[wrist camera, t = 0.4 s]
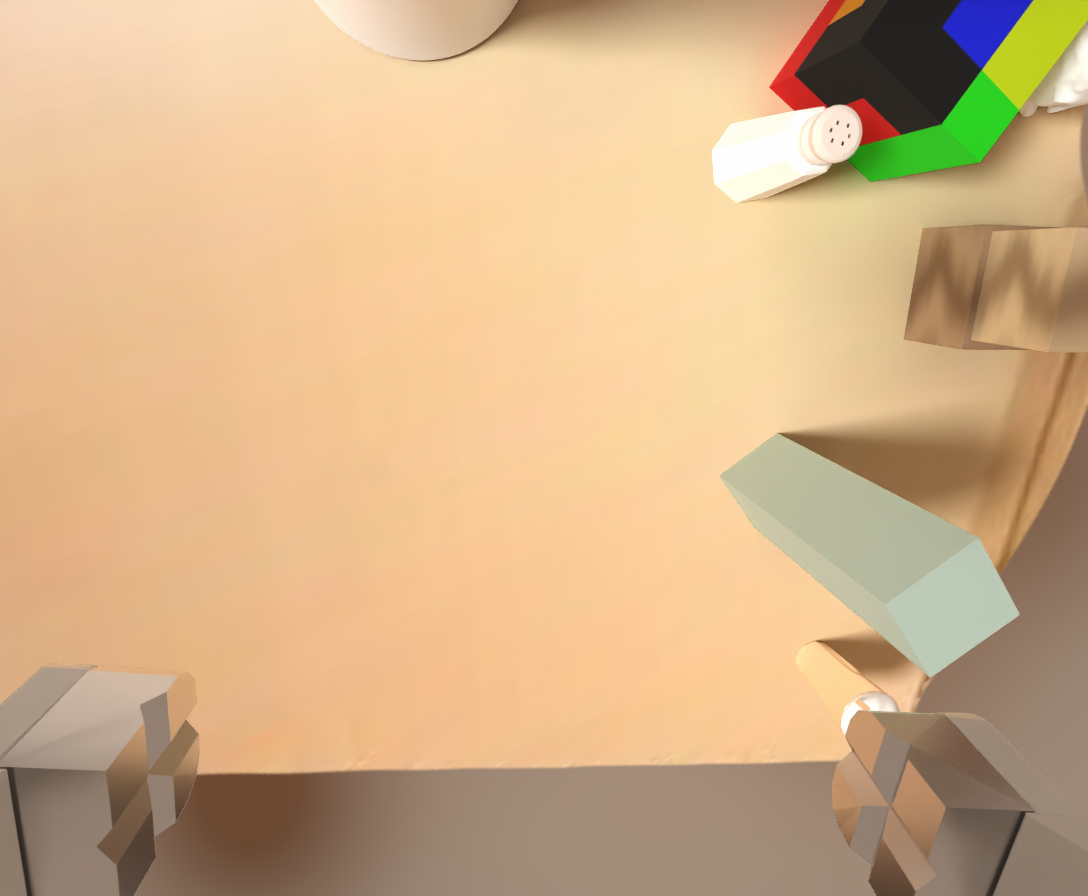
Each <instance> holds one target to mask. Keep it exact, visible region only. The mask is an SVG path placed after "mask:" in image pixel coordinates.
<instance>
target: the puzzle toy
mask: <svg viewBox="0 0 1088 896" xmlns="http://www.w3.org/2000/svg"><path fill="white" fill-rule="evenodd" d="M1087 20H1088V0H829V1H828V3H827V4H826V6H825V7H824V9H823V10H822V12H821V13H820V14H819V16H818V17H817V19H816V20H815V22H814V23H813V25H812V26H811V27H810V29H809V30H808V32H807V33H806V35H805V36H804V38H803V39H802V41H801V42H800V43H799V45H798V46H797V48H796V49H795V51H794V52H793V54H792V55H791V56H790V58H789V59H788V61H787V62H786V64H785V65H784V67H783V68H782V70H781V71H780V72H779V74H778V75H777V77H776V78H775V80H774V81H773V83H772V84H771V85H770V87H769V88H770V89H772V90H773V91H774V92H775V93H776V94H777V95H778V96H779V97H780V98H781V99H782V100H783V101H784V102H785V103H787V104H788V105H789V106H790V107H791V108H792V109H793V110H794V111H797V110H803V109H809V108H815V107H825V108H826V109H827V108H829V107H831V106H834V105H847V106H849V107H850V108H852V109H853V110H854V111H855V112H856V113H857V114H858V116H859V118H860V120H861V124H862V138H861V142H860V144H859V146H858V149H857V150H856V151H855V153H854V154H853V155H852V156H851V157H849V158H848V159H847V160H848V161H849V162H850V163H851V164H852V165H853V166H854V167H855V168H856V169H858V170H859V171H860V172H861V173H862V174H863V175H864V176H865V177H866V178H867V179H868V180H869V181H870V182H873V181H878V180H884V179H890V178H895V177H901V176H907V175H913V174H918V173H924V172H930V171H935V170H941V169H947V168H953V167H958V166H964V165H970V164H976V163H980V162H981V161H982V159H983V158H984V157H985V155H986V154H987V153H988V151H989V150H990V149H991V147H992V146H993V145H994V143H995V142H996V141H997V139H998V138H999V137H1000V135H1001V134H1002V133H1003V131H1004V130H1005V129H1006V127H1007V126H1008V125H1009V123H1010V122H1011V121H1012V120H1013V118H1014V117H1015V116H1016V114H1017V113H1018V112H1019V110H1020V109H1021V108H1022V106H1023V105H1024V104H1025V102H1026V101H1027V100H1028V98H1029V97H1030V96H1031V94H1032V93H1033V92H1034V90H1035V89H1036V88H1037V86H1038V85H1039V84H1040V82H1041V81H1042V80H1043V78H1044V77H1045V76H1046V75H1047V73H1048V72H1049V71H1050V69H1051V68H1052V67H1053V65H1054V64H1055V63H1056V61H1057V60H1058V59H1059V57H1060V56H1061V55H1062V53H1063V52H1064V51H1065V49H1066V48H1067V47H1068V45H1069V44H1070V43H1071V41H1072V40H1073V39H1074V37H1075V36H1076V35H1077V34H1078V32H1079V31H1080V30H1081V28H1082V27H1083V26H1084V24H1085V23H1086V22H1087Z"/></svg>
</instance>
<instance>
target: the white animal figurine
mask: <svg viewBox="0 0 1088 896" xmlns="http://www.w3.org/2000/svg"><path fill="white" fill-rule="evenodd" d="M1086 104H1088V20H1087V22H1086V23H1085V24H1084V26H1083V27H1082V28H1081V30H1080V31H1079V32H1078V34H1077V35H1076V36H1075V37H1074V39H1073V40H1072V41H1071V43H1070V44H1069V45H1068V47H1067V48H1066V49H1065V51H1064V52H1063V53H1062V55H1061V56H1060V57H1059V59H1058V60H1057V61H1056V63H1055V64H1054V65H1053V67H1052V68H1051V69H1050V71H1049V72H1048V73H1047V75H1046V76H1045V77H1044V78H1043V80H1042V81H1041V82H1040V84H1039V85H1038V86H1037V88H1036V89H1035V90H1034V92H1033V93H1032V94H1031V96H1030V97H1029V98H1028V100H1027V101H1026V102H1025V104H1024V105H1023V106H1022V108H1021V109H1020V110H1019V112H1020V113H1021V115H1023V116H1025V117H1029V116H1031V115H1032V114H1034V112H1035V111H1036V109H1037V107H1038V106H1042V107H1048V106H1049V107H1048V110H1047V112H1048V113H1054V112H1058V111H1062V110H1065V109H1069V108H1073V107H1077V106H1081V105H1086Z"/></svg>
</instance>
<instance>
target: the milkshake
mask: <svg viewBox="0 0 1088 896" xmlns="http://www.w3.org/2000/svg"><path fill="white" fill-rule="evenodd" d="M796 666H797V667H798V669H799V670H800V672H801V673H802V674H803V676H804V677H805V678H806V680H807V681H808V682H809V684H810V685H811V687H812V688H813V689H814V691H815V692H816V693H817V695H818V696H819V698H820V699H821V700H822V702H823V703H824V705H825V707H826V708H827V710H828V711H829V713H830V715H831V716H832V718H833V719H834V720H835V722H836V723H837V725H838V726H839V728H840V729H841V731H842V732H843V734H844V735H846V731H847V728H848V725H849V721H850V719H851V718H852V717H853V715H854V714H855V713H856V712H857V711H858V710H869V711H889V712H900V711H899V707H898V705H897V703H896V702H895V700H894V699H893V698H892V697H891V696H890V695H888V694H887V693H886V692H884V691H883V690H882V689H881V688H879V687H878V686H877V685H875V684H874V683H873V682H872V681H870V680H869V679H868V678H866V677H865V676H864V675H863V674H862V673H860V672H859V671H858V670H857V669H856V668H854V667H853V666H852V665H851V664H850V663H848V662H847V661H846V660H845V659H844V658H842V657H841V656H840V655H839V654H838V653H836V652H835V651H834V650H833V649H832V648H830V647H829V646H828V645H827V644H825V643H821V642H817V641H814V642H811V643H809V644H806V645H804V646H803V647H802V648H801V650H800V651H799V652H798V653H797V657H796Z"/></svg>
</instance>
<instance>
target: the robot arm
mask: <svg viewBox="0 0 1088 896" xmlns="http://www.w3.org/2000/svg"><path fill="white" fill-rule="evenodd" d="M314 1H315V3H316V4H317V5H318V6H319V8H320V9H321V10H322V11H323V12H324V13H325V14H326V16H327V17H328V18H329V19H330V20H331V21H332V22H333V23H334V24H335V25H337V26H338V27H339V28H340V29H341V30H343V31H344V32H345V33H346V34H348V35H349V36H350V37H352V38H353V39H355V40H356V41H358V42H360V43H361V44H363V45H365V46H367V47H369V48H371V49H373V50H375V51H378V52H380V53H383V54H386V55H389V56H393V57H397V58H402V59H407V60H436V59H442V58H447V57H451V56H454V55H457V54H460V53H462V52H465V51H467V50H469V49H471V48H473V47H474V46H476V45H478V44H479V43H481V42H482V41H484V40H485V39H486V38H488V37H489V36H490V35H491V34H492V33H493V32H494V31H496V30H497V29H498V27H499V26H500V25H501V24H502V23H503V22H504V21H505V19H506V18H507V17H508V16H509V14H510V13H511V11H512V10H513V8H514V7H515V5H516V3H517V2H518V0H314ZM196 703H197V698H196V688H195V679H194V678H193V677H192V676H191V675H190V674H189V673H188V672H180V671H167V670H154V669H141V668H128V667H115V666H102V665H101V666H95V665H84V664H68V663H54V664H51V665H47V666H44V667H42V668H40V669H39V670H38V671H37V672H36V673H35V674H34V675H33V676H32V677H30V678H29V679H28V680H27V681H26V682H25V683H24V684H23V685H22V686H20V687H19V688H18V689H17V690H16V691H15V692H14V693H13V694H12V695H11V696H9V697H8V698H7V699H6V700H5V701H4V702H3V703H2V704H1V705H0V896H134V894H135V892H136V891H137V889H138V887H139V885H140V884H141V882H142V880H143V879H144V877H145V875H146V873H147V872H148V870H149V868H150V867H151V865H152V863H153V861H154V860H155V858H156V855H155V842H154V837H155V836H156V835H158V834H159V833H161V832H162V831H164V830H165V829H166V828H168V827H169V826H171V825H172V824H174V823H175V822H176V821H177V819H178V817H179V815H180V813H181V812H182V810H183V808H184V806H185V804H186V803H187V800H188V799H189V795H190V792H191V789H192V786H193V783H194V780H195V777H196V774H197V768H198V760H199V734H198V733H197V732H196V731H195V729H194V728H193V727H192V726H191V725H190V724H189V723H188V721H187V720H186V718H187V717H188V715H189V714H190V712H191V711H192V709H193V708H194V706H195V705H196ZM845 737H846V739H847V741H848V743H849V745H850V747H851V749H852V752H851V753H850V754H848V755H847V756H846V757H845V758H844V759H843V760H842V761H841V762H839V763H838V764H837V766H836V770H835V774H834V779H833V783H832V787H831V788H832V801H833V811H834V814H835V817H836V820H837V823H838V827H839V829H840V831H841V833H842V835H843V836H844V838H845V840H846V842H847V844H848V846H849V848H851V849H852V850H853V851H855V852H856V853H857V854H858V855H860V856H861V857H862V858H863V859H865V860H866V861H867V862H868V863H870V864H871V869H870V875H869V881H868V882H869V883H870V885H871V887H872V888H873V890H874V892H875V894H876V896H1088V816H1084V815H1082V814H1081V813H1080V812H1079V811H1078V810H1077V809H1076V808H1075V807H1074V806H1073V805H1072V804H1071V803H1070V802H1069V801H1068V800H1067V799H1066V798H1065V797H1064V796H1063V795H1062V794H1061V793H1059V792H1058V790H1057V789H1055V788H1054V787H1053V786H1052V785H1051V784H1050V783H1049V782H1048V781H1047V780H1046V779H1045V778H1044V777H1043V776H1042V775H1041V774H1040V773H1039V772H1038V771H1037V770H1036V769H1035V768H1034V767H1033V766H1032V765H1031V764H1030V763H1029V762H1028V761H1027V760H1026V759H1025V758H1024V757H1023V756H1022V755H1021V754H1020V753H1019V752H1018V751H1017V750H1016V749H1015V748H1014V747H1013V746H1012V745H1011V744H1010V743H1009V742H1008V741H1007V740H1006V739H1005V738H1004V737H1003V736H1002V735H1001V734H1000V733H999V732H998V731H997V730H996V729H995V728H994V727H993V726H992V725H991V724H990V723H989V722H988V721H987V720H985V719H983V718H981V717H979V716H977V715H975V714H973V713H937V712H935V713H933V714H927V713H909V712H889V711H869V710H858V711H857V712H856V713H855V714H854V715H853V717H852V718H851V719H850V721H849V725H848V728H847V731H846V735H845Z"/></svg>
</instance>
